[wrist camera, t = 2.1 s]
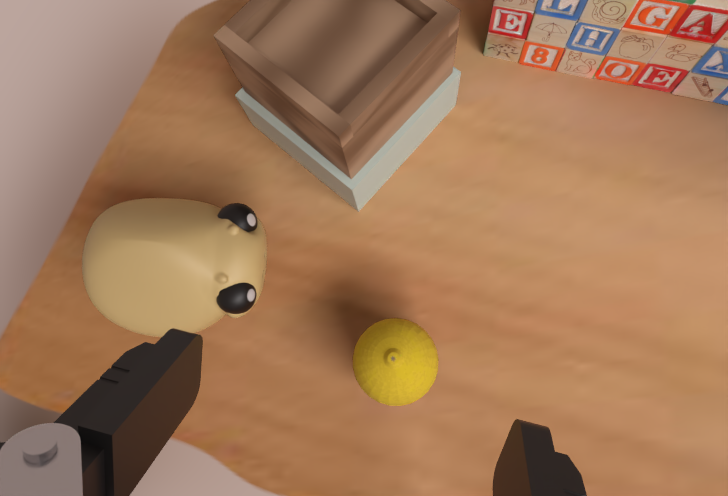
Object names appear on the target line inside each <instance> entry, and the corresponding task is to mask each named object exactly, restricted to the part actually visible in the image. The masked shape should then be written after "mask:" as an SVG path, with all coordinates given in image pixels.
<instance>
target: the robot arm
mask: <svg viewBox="0 0 728 496" xmlns="http://www.w3.org/2000/svg"><path fill="white" fill-rule="evenodd" d="M202 345H203V340H202V337H201V335H198V334H194V333H190V332H186V331H182V330H178V329H175V328H172V329H170V330H168V331H167V332H166V333H165V334H164V336H163V337H162V338H161V339H160V340H159V341H158V342H157V343H156V344H155V345H154V344H151V343H147V342H145V343H143V344H141V345H139V346H137V347H135V348H133V349H131V350H129V351H127V352H125V353H124V354H123V355H122V356H121V357H120V358H119V359H118V360H117V361H116V362H115V363H114V364H113V365H112V367H111V369H110V368H109V369H108V370H107V371H106V372H105V373H104V374H103V375H102V376H101V377H100V379H99V380H97V381H96V382H95V383H94V384H93V385H92V386H91V387H89V388H88V389H87V390H86V391H85V392H84V393H83V394H82V395H81V396H80V397H79V398H78V399H77V400H76V401H75V402H74V403H73V404H72V405H71V406H70V407H69V408H68V409H67V410H66V411H65V412H64V413H63V414H62V415H61V416H60V417H59V418H58V419H57V420H56V421H55V422H54V423H46V424H40V425H36V426H32V427H29V428H27V429H25V430H23V431H21V432H19V433H17V434H15V435H14V436H13V437H11V438H10V439H9V440H8V441H7V442H4V443H0V496H129V495H130V494H131V492H132V491H133V490H134V488H135V487H136V485H137V484H138V482H139V481H140V480H141V478H142V477H143V475H144V474H145V473H146V471H147V470H148V468H149V467H150V465H151V464H152V463H153V461H154V460H155V458H156V457H157V456H158V454H159V453H160V451H161V450H162V448H163V447H164V446H165V444H166V442H167V441H168V440H169V438H170V437H171V436H172V434H173V433H174V431H175V430H176V428H177V427H178V426H179V424H180V423H181V421H182V420H183V418H184V417H185V416H186V414H187V413H188V411H189V410H190V408H191V407H192V405H193V403H194V401H195V399H196V397H197V394H198V391H199V387H200V378H201V361H202ZM493 496H587V495H586V491H585V487H584V484H583V480H582V476H581V474H580V473H579V471H578V470H577V468H576V467H575V465H574V464H573V462H572V461H571V459H570V458H569V457H568V455H565V454H562V453H558V452H555V450H554V446H553V441H552V437H551V433H550V430H549V428H548V427H546V426H542V425H538V424H534V423H530V422H526V421H523V420H519V419H516V420H515V421H514V423H513V425H512V427H511V430H510V432H509V434H508V437H507V439H506V442H505V444H504V447H503V449H502V452H501V454H500V457H499V459H498V462H497V464H496V468H495V472H494V478H493Z"/></svg>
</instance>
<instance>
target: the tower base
mask: <svg viewBox="0 0 728 496" xmlns="http://www.w3.org/2000/svg"><path fill="white" fill-rule="evenodd" d="M460 76H461V72H460V71H459V70H457V69H456V68H455V67H453V73H452V74H451V75H450V76H449V77H448V78H447V79H446V80H445V81H444V82H443V83H442V84H441V85H440V86H439V88H438V89H437V90H436V91H435V92H434V93H433V94H432V95H431V96H430V97H429V98H428V99H427V100H426V101H425V102H424V103H423V104H422V105H421V107H420V108H419V109H418V110H417V111H416V112H415V113H414V114H413V115H412V116H411V117H410V118H409V119H408V120H407V121H406V122H405V123H404V124H403V126H402V127H401V128H400V129H399V130H398V131H397V132H396V133H395V134H394V135H393V136H392V137H391V138H390V139H389V140H388V141H387V142H386V143H385V144H384V146H383V147H382V148H381V149H380V150H379V151H378V152H377V153H376V154H375V155H374V156H373V157H372V158H371V159H370V160H369V161H368V162H367V163H366V165H365V166H364V167H363V168H362V169H361V170H360V171H359V172H358V173H357V174H356V175H355V176H354V177H353V178H352V179H350V178H349V177H348V176H347V175H345V174H344V173H343V172H342V171H340V170H339V169H338V168H337V167H336V166H334V165H333V164H332V163H331V162H330V161H328V160H327V159H326V158H325V157H324V156H322V155H321V154H320V153H319V152H317V151H316V150H315V149H314V148H313V147H311V146H310V145H309V144H308V143H307V142H305V141H304V140H303V139H302V138H300V137H299V136H298V135H297V134H296V133H294V132H293V131H292V130H291V129H290V128H288V127H287V126H286V125H285V124H284V123H282V122H281V121H280V120H279V119H277V118H276V117H275V116H274V115H273V114H271V113H270V112H269V111H268V110H267V109H265V108H264V107H263V106H262V105H260V104H259V103H258V102H257V101H256V100H254V99H253V98H252V97H251V96H250V95H248V94H247V93H246V92H245V91H244V89H243V87H242V88H241V89H240V90H239V91H238V92H237V93H236V94H235V96H236V98H237V100H238V101H239V103H240V105H241V106H242V108H243V110H244V111H245V113H246V114H247V116H248V118H249V119H250V121H251V123H252V124H253V125H254V126H255V127H256V128H257V129H258V130H260V131H261V132H262V133H263V134H265V135H266V136H267V137H268V138H269V139H271V140H272V141H273V142H274V143H276V144H277V145H278V146H279V147H280V148H282V149H283V150H284V151H285V152H286V153H288V154H289V155H290V156H291V157H293V158H294V159H295V160H296V161H297V162H299V163H300V164H301V165H302V166H304V167H305V168H306V169H307V170H308V171H310V172H311V173H312V174H313V175H315V176H316V177H317V178H318V179H319V180H321V181H322V182H323V183H324V184H326V185H327V186H328V187H329V188H330V189H332V190H333V191H334V192H335V193H336V194H338V195H339V196H340V197H341V198H343V199H344V200H345V201H346V202H347V203H349V204H350V205H351V206H352V207H354V208H355V209H356V210H357V211H358V212H359V211H360V210H361V208H362V207H363V206H364V205H365V204H366V203H367V202H368V201H369V200H370V199H371V197H372V196H373V195H374V194H375V193H376V192H377V191H378V190H379V189H380V188H381V187H382V185H383V184H384V183H385V182H386V181H387V180H388V179H389V178H390V177H391V176H392V174H393V173H394V172H395V171H396V170H397V169H398V168H399V167H400V166H401V165H402V163H403V162H404V161H405V160H406V159H407V158H408V157H409V156H410V155H411V154H412V153H413V151H414V150H415V149H416V148H417V147H418V146H419V145H420V144H421V143H422V142H423V140H424V139H425V138H426V137H427V136H428V135H429V134H430V133H431V132H432V131H433V129H434V128H435V127H436V126H437V125H438V124H439V123H440V122H441V121H442V120H443V118H444V117H445V116H446V115H447V114H448V113H449V112H450V111H451V110H452V109H453V108H454V106H455V105H456V100H457V94H458V88H459V82H460Z"/></svg>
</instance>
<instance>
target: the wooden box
mask: <svg viewBox="0 0 728 496" xmlns="http://www.w3.org/2000/svg"><path fill="white" fill-rule="evenodd" d="M460 13H461V10H459V9H458V8H456V7H455V6H453V5H452V4H450V3H449V2H447V1H446V0H250V1H249V2H248V3H247V4H246V5H245V6H244V7H242V8H241V9H240V10H239V11H238V12H237V13H236V14H235V15H234V16H233V17H232V18H231V19H230V20H229V21H228V22H227V23H226V24H225V25H223V26H222V27H221V28H220V29H219V30H218V31H217V32H216V33H215V34H214V35H213V36H214V38H215V40H216V41H217V43H218V45H219V47H220V48H221V50H222V52H223V54H224V55H225V57H226V59H227V61H228V63H229V64H230V66H231V68H232V70H233V71H234V73H235V75H236V77H237V78H238V80H239V82H240V84H241V86H242V87H243V89H244V91H245V92H246V93H247V94H248V95H250V96H251V97H252V98H253V99H254V100H256V101H257V102H258V103H259V104H260V105H262V106H263V107H264V108H265V109H267V110H268V111H269V112H270V113H271V114H273V115H274V116H275V117H276V118H277V119H279V120H280V121H281V122H282V123H284V124H285V125H286V126H287V127H288V128H290V129H291V130H292V131H293V132H294V133H296V134H297V135H298V136H299V137H300V138H302V139H303V140H304V141H305V142H307V143H308V144H309V145H310V146H311V147H313V148H314V149H315V150H316V151H317V152H319V153H320V154H321V155H322V156H324V157H325V158H326V159H327V160H328V161H330V162H331V163H332V164H333V165H334V166H336V167H337V168H338V169H339V170H340V171H342V172H343V173H344V174H345V175H347V176H348V177H349V178H350V179H352V178H353V177H354V176H355V175H356V174H357V173H358V172H359V171H360V170H361V169H362V168H363V167H364V166H365V165H366V163H367V162H368V161H369V160H370V159H371V158H372V157H373V156H374V155H375V154H376V153H377V152H378V151H379V150H380V149H381V148H382V147H383V146H384V144H385V143H386V142H387V141H388V140H389V139H390V138H391V137H392V136H393V135H394V134H395V133H396V132H397V131H398V130H399V129H400V128H401V127H402V126H403V124H404V123H405V122H406V121H407V120H408V119H409V118H410V117H411V116H412V115H413V114H414V113H415V112H416V111H417V110H418V109H419V108H420V107H421V105H422V104H423V103H424V102H425V101H426V100H427V99H428V98H429V97H430V96H431V95H432V94H433V93H434V92H435V91H436V90H437V89H438V88H439V86H440V85H441V84H442V83H443V82H444V81H445V80H446V79H447V78H448V77H449V76H450V75H451V74H452V73H453V65H454V58H455V50H456V43H457V35H458V28H459V20H460Z"/></svg>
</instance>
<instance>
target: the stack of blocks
mask: <svg viewBox="0 0 728 496" xmlns="http://www.w3.org/2000/svg"><path fill="white" fill-rule="evenodd" d="M483 55H484V56H488V57H493V58H498V59H503V60H507V61H512V62H517V63H519V64H522V65H527V66H532V67H537V68H542V69H546V70H551V71H557V72H561V73H565V74H570V75H575V76H580V77H585V78H597V79H600V80H607V81H612V82H617V83H622V84H627V85H635V86H640V87H644V88H649V89H655V90H659V91H664V92H671V93H672V94H674V95H680V96H685V97H690V98H695V99H699V100H704V101H712V102H715V103H720V104H725V105H728V0H494V1H493V7H492V12H491V17H490V23H489V28H488V34H487V38H486V42H485V47H484V52H483Z"/></svg>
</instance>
